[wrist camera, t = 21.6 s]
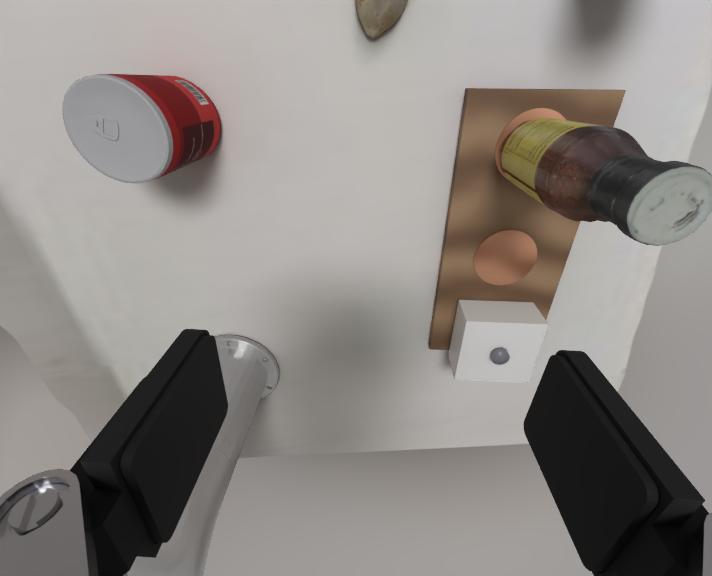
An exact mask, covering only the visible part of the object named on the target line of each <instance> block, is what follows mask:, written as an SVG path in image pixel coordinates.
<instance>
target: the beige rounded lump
mask: <svg viewBox="0 0 712 576" xmlns="http://www.w3.org/2000/svg"><path fill="white" fill-rule="evenodd" d="M407 1H408V0H356V8H357V12H358V16H359V18H360V21H361V23H362V26H363V28H364V30H365V32H366V34H367V35H368V36H369V37H370V38H372V39H375V38H377V37H379V36H380V35H381V34H382V33H383V32H384V31H385V30H387V29H388V28H390V27H391V26H392V25H393V24H394V23H395V22H396V21H397V20H398V18H399V17H400V15H401V14H402V12H403V10H404V7H405V5H406V3H407Z"/></svg>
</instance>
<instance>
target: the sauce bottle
mask: <svg viewBox="0 0 712 576" xmlns="http://www.w3.org/2000/svg"><path fill="white" fill-rule="evenodd" d="M500 166H501V170H502V171H503V173H504V174H505V175H506V177H507V178H508V179H509V180H510V181H511V182H512V183H513V184H514V185H516V186H517V187H519V188H520V189H521V190H523V191H524V192H526V193H527V194H529V195H530V196H532V197H533V198H535V199H536V200H537V201H539V202H540V203H542V204H543V205H545V206H546V207H547V208H549V209H551V210H553V211H555V212H558V213H559V214H560V215H562V216H563V217H565V218H568V219H570V220H573V221H588V222H592V221H596V220H599V221H604V222H607V221H610V222H612V223H614V224H615V225H617V227H618V228H619V229H620V230H621V231H622V232H623V233H624V234H625V235H627V236H629V237H630V238H632V239H634V240H636V241H638V242H640V243H643V244H646V245H656V246H658V245H665V244H669V243H673V242H676V241H679V240H681V239H683V238H685V237H687V236H688V235H690V234H691V233H693V232H694V231H695V230H697V229H698V228H699V227H700V226H701V225H702V223H703V222H704V221H705V220H706V218H707V217H708V216H709V214H710V212H711V211H712V175H711V174H710V173H708V172H707V171H706V170H705V169H703V168H701V167H698V166H694V165H691V164H688V163H684V162H679V161H669V162H661V161H657V160H654V159H652V158H650V157H648V156H647V154H646V153H645V152H644V150H643V149H642V148H641V146H640V145H639V144H638V142H637V141H636V140H635V139H634V138H633V137H632V136H631V135H630V134H628V133H627V132H625V131H623V130H621V129H617V128H614V127H609V126H602V125H595V124H587V123H580V122H574V121H568V120H561V119H554V118H546V117H545V118H537V119H533V120H529V121H525V122H523V123H521V124H520V125H519V126H517V127H516V128H515V129H514V130H513V131H512V132H511V133H510V134H509V135H508V136H507V138H506V139H505V140H504V141H503V143H502V147H501V151H500Z"/></svg>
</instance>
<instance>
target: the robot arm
mask: <svg viewBox="0 0 712 576" xmlns="http://www.w3.org/2000/svg"><path fill="white" fill-rule="evenodd" d="M278 379H279V368H278V365H277V362H276V360H275V359H274V357H273V356H272V354H271V353H270V352H269V351H268V350H267V349H266V348H264V347H263V346H262V345H260V344H258V343H257V342H255V341H253V340H250V339H248V338H245V337H240V336H234V335H223V336H217V337H214V336H210V335H209V332H208V331H207V330H195V329H185V330H183V331H182V332H181V334H180V335H179V336H178V337H177V339H176V340H175V341H174V342H173V344H172V345H171V346H170V348H169V349H168V350H167V351H166V353H165V354H164V355H163V356H162V358H161V359H160V360H159V361H158V363H157V364H156V365H155V367H154V368H153V369H152V370H151V372H150V373H149V374H148V375H147V376H146V377H145V378H144V379H143V380H142V381H141V382H140V383H139V384H138V385H137V387H136V388H135V389H134V390H133V392H132V393H131V394H130V395H129V397H128V398H127V399H126V401H125V402H124V403H123V404H122V406H121V407H120V408H119V409H118V411H117V412H116V413H115V414H114V416H113V417H112V418H111V419H110V421H109V422H108V423H107V424H106V426H105V427H104V428H103V429H102V431H101V432H100V433H99V434H98V436H97V437H96V438H95V439H94V441H93V442H92V443H91V445H90V446H89V447H88V448H87V450H86V451H85V452H84V453H83V455H82V456H81V457H80V458H79V460H78V461H77V462H76V463H75V465H74V466H73V467H72V468H71V470H70V471H69V470H63V469H55V470H48V471H44V472H41V473H38V474H36V475H33V476H31V477H29V478H27V479H25V480H23V481H21V482H19V483H18V484H16V485H15V486H14V487H12V488H11V489H10V490H8V491H7V492H5V493H4V494H3V495H2V496H1V497H0V576H203V573H204V569H205V564H206V559H207V554H208V550H209V546H210V541H211V537H212V534H213V530H214V526H215V523H216V519H217V516H218V513H219V510H220V507H221V504H222V501H223V498H224V495H225V493H226V490H227V487H228V484H229V482H230V479H231V476H232V473H233V471H234V468H235V465H236V462H237V460H238V457H239V455H240V452H241V449H242V446H243V444H244V441H245V438H246V436H247V433H248V430H249V428H250V425H251V422H252V420H253V417H254V414H255V411H256V409H257V406H258V403H259V401H260V399H261V398H264V397H266V396H267V395H269V394H270V393H271V392H272V391H273V390H274V388H275V387H276V385H277V382H278ZM524 432H525V435H526V437H527V439H528V442H529V444H530V446H531V448H532V450H533V453H534V455H535V457H536V459H537V462H538V464H539V466H540V469H541V471H542V473H543V475H544V477H545V480H546V482H547V484H548V487H549V489H550V491H551V493H552V496H553V498H554V500H555V502H556V505H557V507H558V509H559V511H560V514H561V516H562V518H563V520H564V523H565V525H566V527H567V529H568V532H569V534H570V536H571V538H572V541H573V543H574V545H575V547H576V550H577V552H578V554H579V556H580V559H581V561H582V563H583V565H584V566H585V567H586V568H587V569H588V570H589V571H592V573H593V574H594V576H712V513H710V514H709V513H708V512H707V510H706V509H705V508H704V507H703V505H702V504H703V502H704V501H705V500H704V499H703V497H702V496H701V495H700V494H699V492H698V491H697V490H696V489H695V487H694V486H693V485H692V484H691V482H690V481H689V480H688V479H687V477H686V476H685V475H684V474H683V473H682V471H681V470H680V469H679V468H678V466H677V465H676V464H675V463H674V461H673V460H672V459H671V458H670V457H669V456H668V454H667V453H666V452H665V450H664V449H663V448H662V447H661V445H660V444H659V443H658V442H657V440H656V439H655V438H654V437H653V436H652V434H651V433H650V432H649V431H648V429H647V428H646V427H645V426H644V424H643V423H642V422H641V421H640V420H639V418H638V417H637V416H636V415H635V413H634V412H633V411H632V410H631V408H630V407H629V406H628V405H627V403H626V402H625V401H624V400H623V399H622V397H621V396H620V395H619V394H618V392H617V391H616V390H615V389H614V387H613V386H612V385H611V384H610V383H609V381H608V380H607V379H606V378H605V376H604V375H603V374H602V373H601V371H600V370H599V369H598V368H597V367H596V365H595V364H594V363H593V362H592V360H591V359H590V358H589V357H588V355H587V354H585V353H584V352H582V351H567V350H560V351H558V352H557V353H556V355H552V356H551V357H550V358H549V361H548V363H547V366H546V368H545V371H544V373H543V376H542V378H541V381H540V383H539V386H538V388H537V391H536V393H535V395H534V398H533V400H532V403H531V405H530V408H529V410H528V413H527V415H526V418H525V421H524Z"/></svg>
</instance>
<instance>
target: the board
mask: <svg viewBox="0 0 712 576" xmlns="http://www.w3.org/2000/svg"><path fill="white" fill-rule="evenodd" d="M625 91H626V90H577V89H476V88H466V90H465V97H464V104H463V111H462V118H461V125H460V131H459V138H458V145H457V152H456V159H455V166H454V173H453V180H452V187H451V193H450V200H449V207H448V214H447V221H446V228H445V235H444V242H443V249H442V255H441V262H440V269H439V276H438V283H437V290H436V297H435V304H434V311H433V317H432V324H431V331H430V338H429V348H430V349H437V350H449V349H450V344H451V338H452V333H453V328H454V322H455V317H456V311H457V306H458V301H459V300H480V301H508V302H533V303H534V304H535V306H536V307H537V308H538V310H539V311H540V313H541V314H542V316H543V317H544V318H545V320H546V318H547V315H548V313H549V310H550V307H551V304H552V301H553V298H554V295H555V293H556V290H557V287H558V284H559V281H560V278H561V275H562V272H563V270H564V267H565V264H566V261H567V258H568V255H569V252H570V249H571V247H572V244H573V241H574V238H575V235H576V232H577V229H578V226H579V224H580V221H573V220H570V219H568V218H565V217H563V216H562V215H560V214H559V213H558V212H555V211H553V210H551V209H549V208H547V207H546V206H545V205H543V204H542V203H540V202H539V201H537V200H536V199H535V198H533V197H532V196H530V195H529V194H527V193H526V192H524V191H523V190H521V189H520V188H519V187H517V186H516V185H514V184H513V183H512V182H511V181H510V180H509V179H508V178H507V177H506V175H505V174H504V173H503V171H502V170H501V166H500V151H501V147H502V143H503V141H504V140H505V139H506V138H507V136H508V135H509V134H510V133H511V132H512V131H513V130H514V129H515V128H516V127H517V126H519V125H520V124H521V123H523V122H525V121H529V120H533V119H537V118H545V117H546V118H554V119H561V120H568V121H574V122H580V123H587V124H595V125H602V126H609V127H613V126H614V123H615V120H616V117H617V114H618V111H619V109H620V106H621V103H622V100H623V97H624V94H625Z"/></svg>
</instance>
